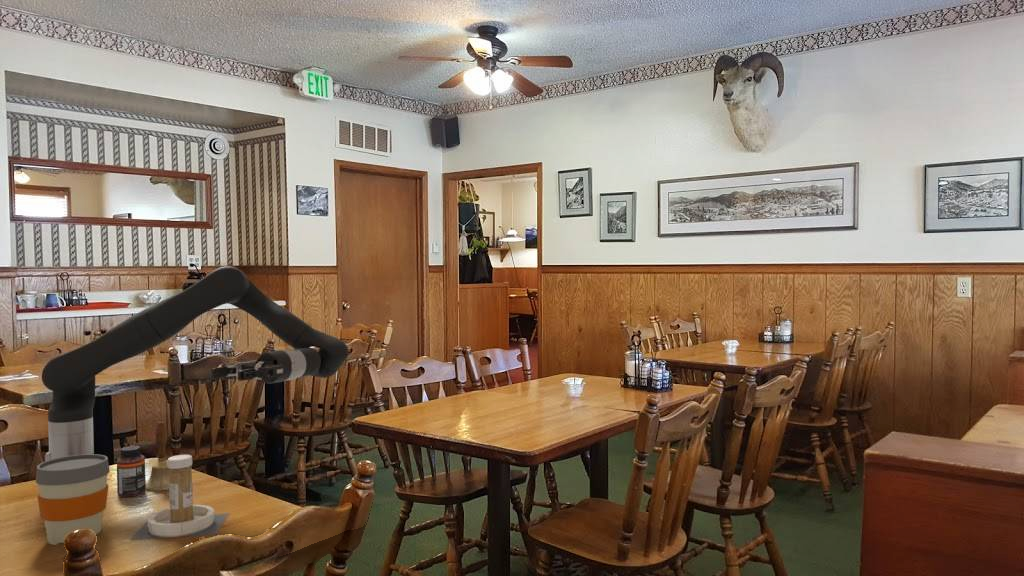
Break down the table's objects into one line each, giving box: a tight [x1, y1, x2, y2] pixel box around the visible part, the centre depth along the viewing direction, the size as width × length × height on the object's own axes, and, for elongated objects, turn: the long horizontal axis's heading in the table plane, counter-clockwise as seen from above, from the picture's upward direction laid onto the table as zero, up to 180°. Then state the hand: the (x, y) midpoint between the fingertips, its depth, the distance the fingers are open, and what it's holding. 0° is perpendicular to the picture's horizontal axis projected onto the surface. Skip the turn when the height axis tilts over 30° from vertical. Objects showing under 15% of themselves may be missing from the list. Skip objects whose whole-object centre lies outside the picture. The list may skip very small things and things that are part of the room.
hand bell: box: [146, 421, 169, 492], centre depth 172 cm, size 8×8×16 cm
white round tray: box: [146, 503, 215, 538], centre depth 143 cm, size 12×12×2 cm
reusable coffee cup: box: [35, 453, 111, 546], centre depth 139 cm, size 13×13×15 cm
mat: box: [129, 513, 230, 541], centre depth 143 cm, size 16×12×1 cm
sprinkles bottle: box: [167, 454, 194, 523], centre depth 143 cm, size 5×5×13 cm
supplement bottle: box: [116, 445, 147, 499], centre depth 165 cm, size 6×6×11 cm
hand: (225, 374), depth 154 cm, fingers open, 8 cm apart
